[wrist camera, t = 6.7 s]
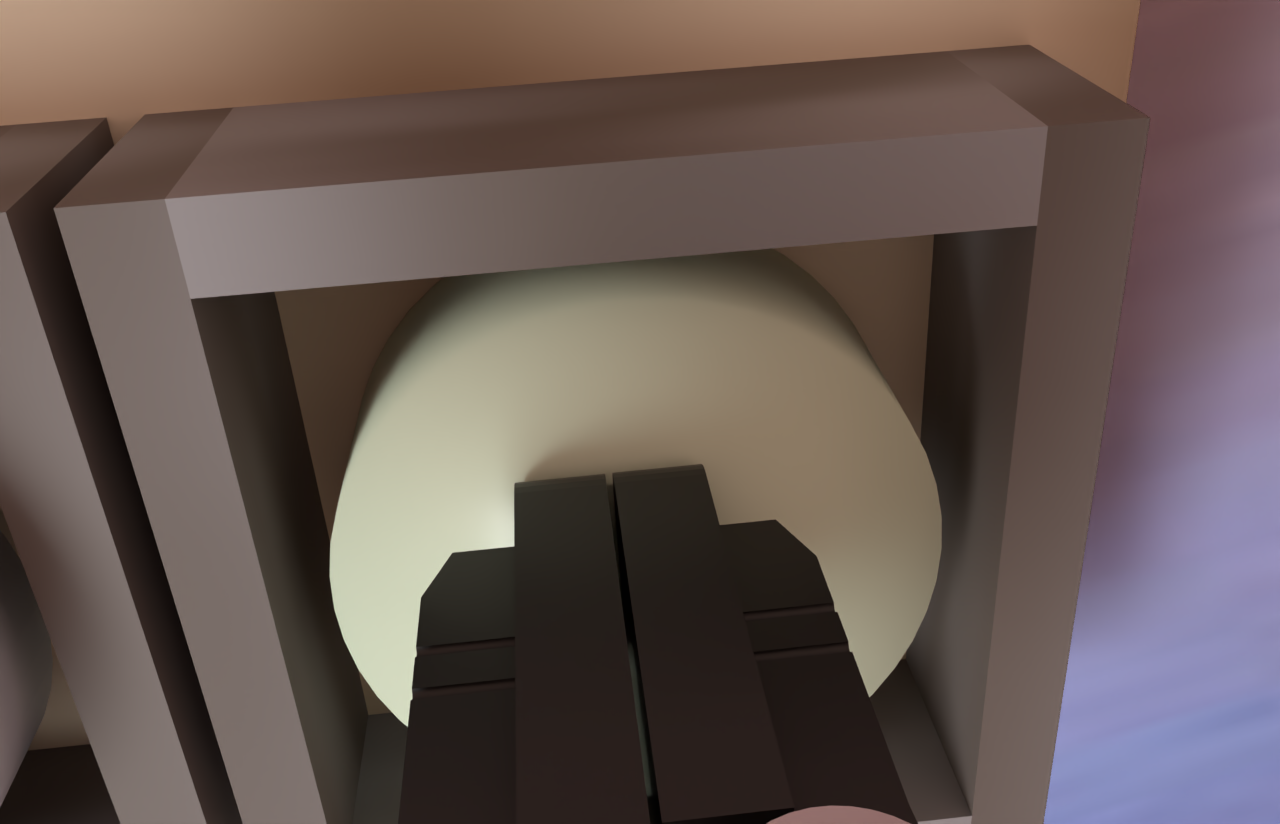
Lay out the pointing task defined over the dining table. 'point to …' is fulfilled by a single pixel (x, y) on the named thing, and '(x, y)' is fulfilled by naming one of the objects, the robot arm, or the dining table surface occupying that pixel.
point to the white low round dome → (20, 665)
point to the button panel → (510, 241)
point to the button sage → (631, 435)
